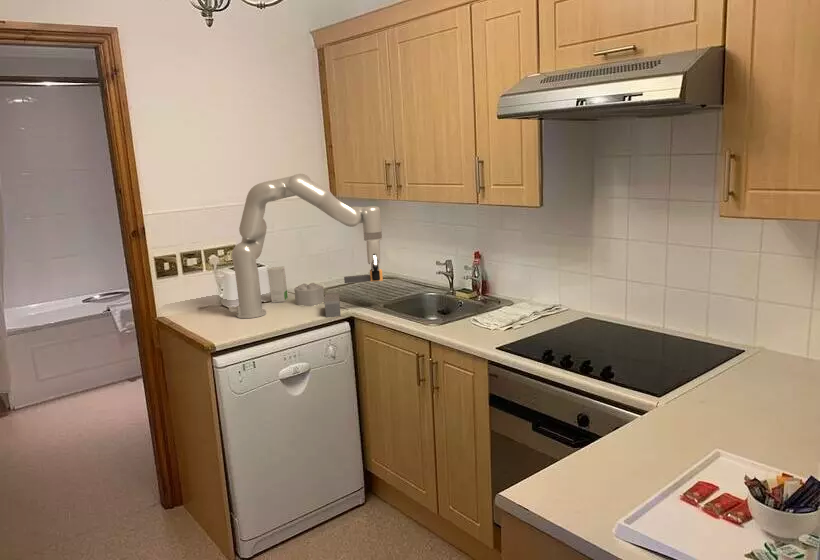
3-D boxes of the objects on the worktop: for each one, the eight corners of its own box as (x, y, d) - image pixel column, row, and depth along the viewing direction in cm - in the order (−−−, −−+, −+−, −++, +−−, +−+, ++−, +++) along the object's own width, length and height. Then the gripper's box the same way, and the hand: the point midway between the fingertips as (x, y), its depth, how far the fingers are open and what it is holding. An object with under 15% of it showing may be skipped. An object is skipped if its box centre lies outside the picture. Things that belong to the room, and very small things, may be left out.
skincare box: (284, 302, 299) (281, 269, 296) (270, 303, 299) (267, 270, 296) (288, 298, 308) (285, 265, 304) (274, 298, 308) (271, 266, 305)
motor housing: (326, 317, 268) (324, 301, 266) (326, 309, 281) (325, 294, 280) (340, 316, 268) (339, 300, 267) (340, 308, 282) (338, 293, 281)
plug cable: (344, 283, 271) (343, 273, 270) (344, 281, 275) (343, 272, 274) (382, 280, 273) (382, 270, 272) (382, 278, 277) (381, 269, 276)
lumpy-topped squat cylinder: (314, 306, 288) (313, 287, 286) (290, 305, 293) (288, 286, 292) (327, 301, 297) (325, 282, 295) (303, 299, 303) (301, 281, 301)
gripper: (362, 234, 278) (365, 276, 282) (364, 239, 262) (368, 283, 266) (380, 233, 279) (383, 274, 283) (383, 238, 263) (386, 282, 267)
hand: (375, 278), depth 274 cm, fingers closed on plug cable, 4 cm apart
